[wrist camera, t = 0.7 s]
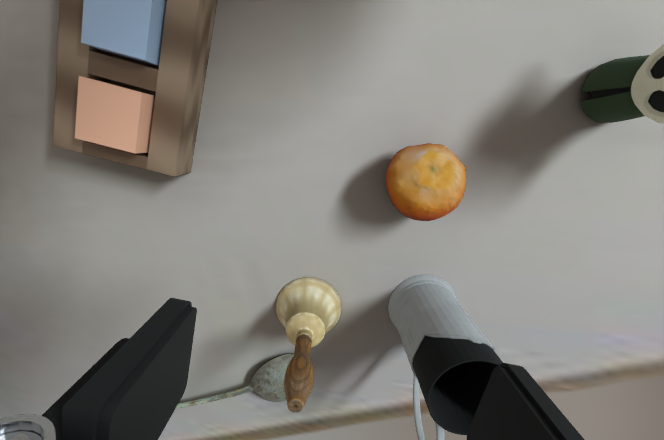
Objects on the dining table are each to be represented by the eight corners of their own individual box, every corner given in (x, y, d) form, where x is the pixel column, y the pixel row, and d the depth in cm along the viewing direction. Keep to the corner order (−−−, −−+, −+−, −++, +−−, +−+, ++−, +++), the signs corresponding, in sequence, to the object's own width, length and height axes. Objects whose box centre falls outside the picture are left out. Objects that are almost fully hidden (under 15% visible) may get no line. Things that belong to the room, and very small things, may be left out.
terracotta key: (101, 81, 32) (78, 75, 29) (158, 96, 32) (141, 92, 29) (96, 137, 33) (74, 138, 30) (151, 152, 34) (134, 153, 31)
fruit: (375, 227, 37) (392, 204, 29) (378, 165, 39) (394, 128, 32) (445, 234, 37) (479, 213, 30) (443, 172, 40) (475, 137, 32)
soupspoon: (315, 382, 45) (302, 341, 44) (315, 400, 42) (301, 356, 41) (165, 421, 46) (148, 382, 45) (153, 442, 43) (134, 400, 41)
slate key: (109, -14, 30) (85, -30, 27) (169, 4, 30) (153, -10, 27) (104, 51, 31) (80, 42, 28) (162, 67, 32) (145, 60, 29)
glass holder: (466, 283, 41) (543, 365, 26) (430, 377, 44) (480, 496, 29) (399, 267, 40) (439, 342, 25) (368, 364, 43) (388, 478, 29)
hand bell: (262, 298, 41) (222, 397, 25) (317, 265, 40) (310, 346, 24) (300, 346, 43) (283, 466, 27) (353, 315, 42) (367, 421, 26)
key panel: (102, -131, 30) (68, -171, 26) (231, -91, 31) (216, -124, 27) (82, 144, 36) (52, 145, 32) (190, 172, 37) (174, 176, 33)
